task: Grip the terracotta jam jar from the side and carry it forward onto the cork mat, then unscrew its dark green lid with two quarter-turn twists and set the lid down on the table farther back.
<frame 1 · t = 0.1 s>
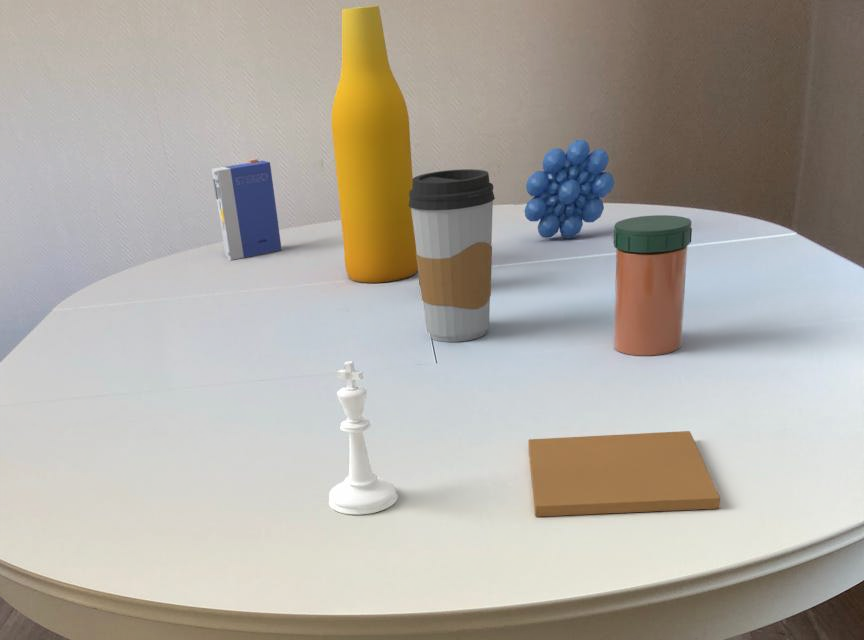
beverage can: (444, 291, 124), on the table
walkman: (253, 255, 151), on the table
mat: (616, 476, 75), on the table
chess piece: (363, 502, 76), on the table
beer bottle: (383, 276, 133), on the table
lid: (652, 227, 94), point 11 cm above the table, screwed on, not yet turned
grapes: (567, 238, 142), on the table
coffee cup: (458, 335, 109), on the table
jar: (647, 345, 100), on the table
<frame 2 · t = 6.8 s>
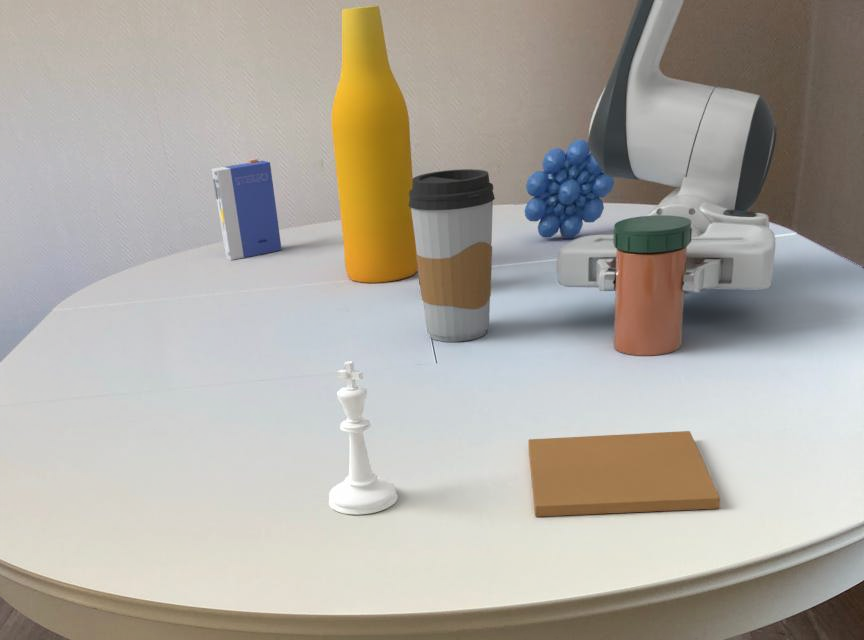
hand: (648, 282, 96), 6 cm above the table, tool horizontal, fingers closed on jar, 6 cm apart
jar: (647, 345, 100), on the table, touching gripper
everything else where it was.
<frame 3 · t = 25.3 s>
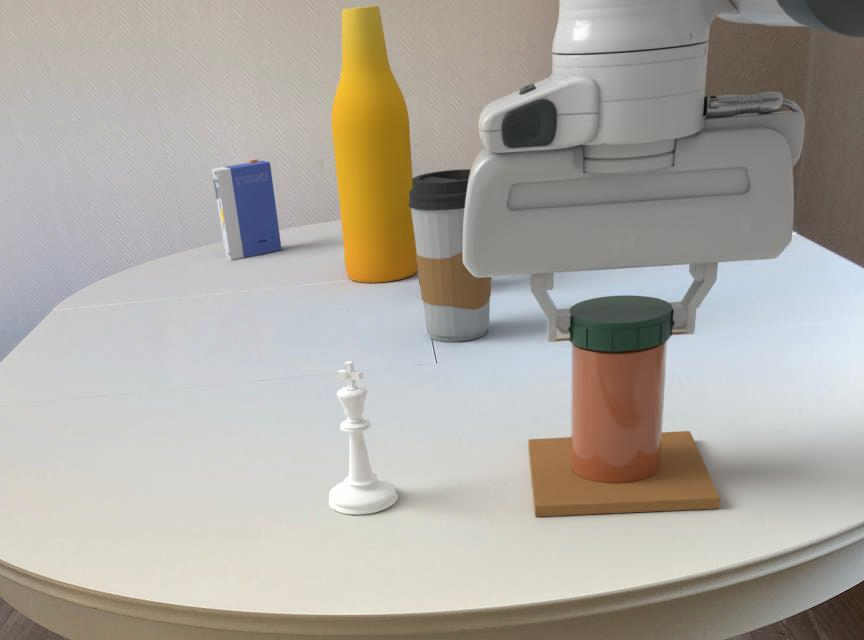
hand: (618, 336, 70), 10 cm above the table, tool pointing down, fingers closed on lid, 6 cm apart
lid: (619, 314, 69), point 11 cm above the table, screwed on, not yet turned, touching gripper
jar: (615, 465, 75), point 1 cm above the table, touching mat
everything else where it was.
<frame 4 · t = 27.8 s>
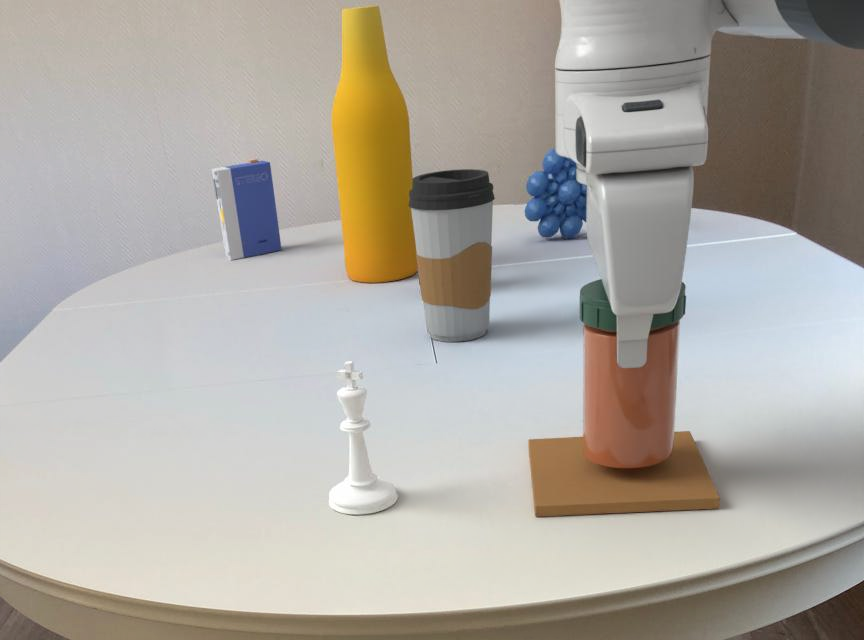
hand: (624, 346, 70), 9 cm above the table, tool pointing down, fingers closed on jar, 6 cm apart
lid: (632, 294, 68), point 13 cm above the table, turned 88° so far, risen 0.2 cm, still on its thread
jar: (627, 450, 74), point 2 cm above the table, touching gripper
everything else where it was.
when the fingers open (8 cm above the table, at t = 29.0 s): jar stays where it is, resting on mat.
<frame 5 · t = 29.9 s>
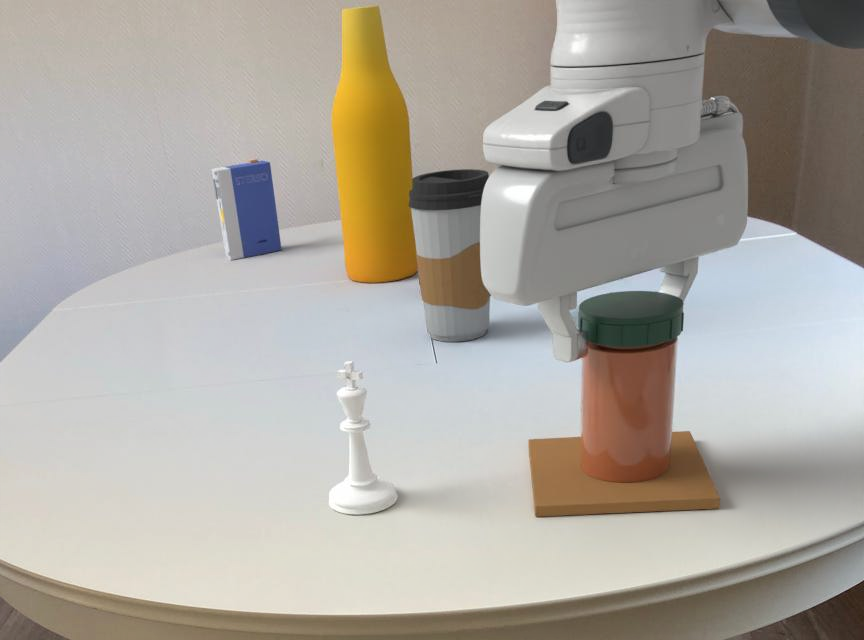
hand: (618, 343, 71), 9 cm above the table, tool pointing down, fingers open, 7 cm apart
lid: (630, 310, 69), point 12 cm above the table, turned 88° so far, risen 0.2 cm, still on its thread, touching gripper
jar: (624, 465, 75), point 1 cm above the table, touching mat
everything else where it was.
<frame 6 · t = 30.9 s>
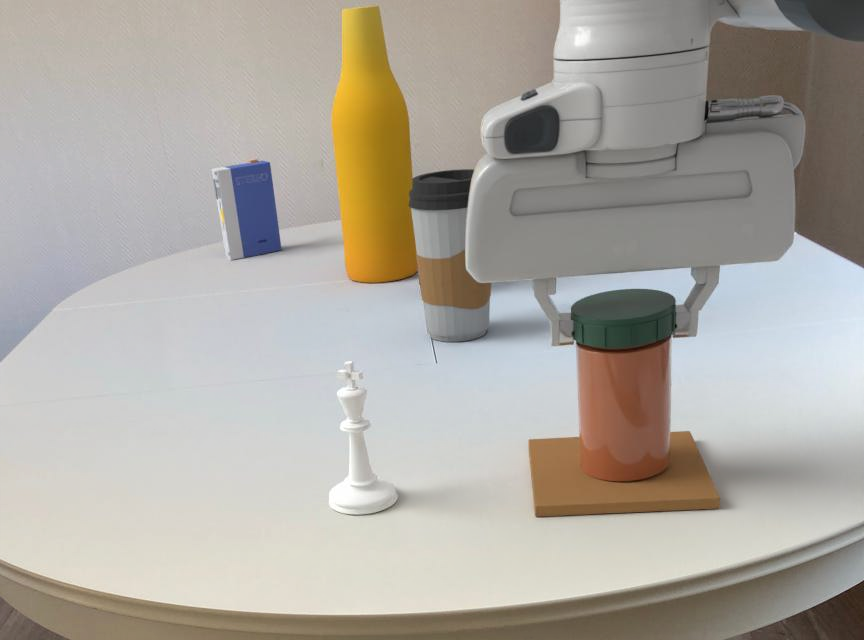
hand: (621, 339, 70), 10 cm above the table, tool pointing down, fingers closed on lid, 6 cm apart
lid: (622, 309, 69), point 12 cm above the table, turned 79° so far, risen 0.2 cm, still on its thread, touching gripper
everything else where it was.
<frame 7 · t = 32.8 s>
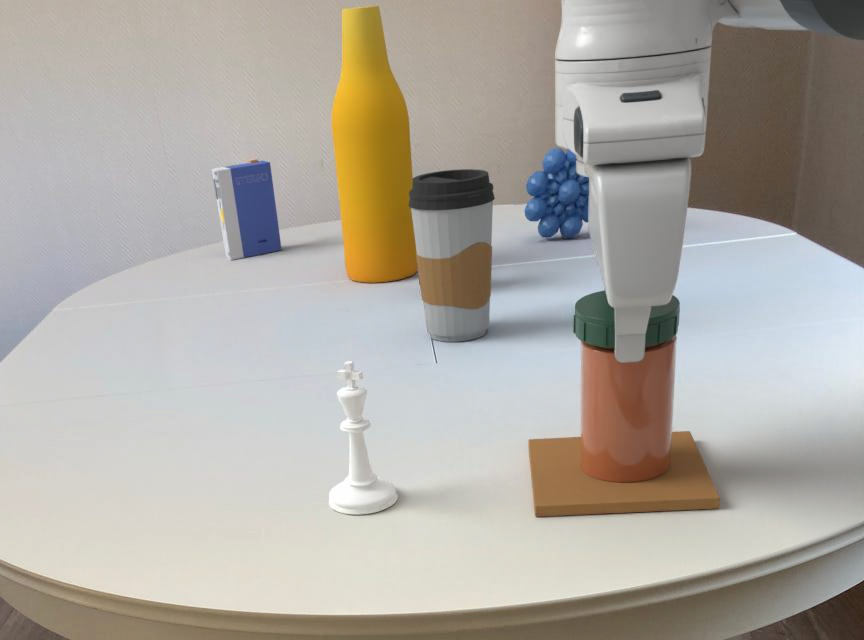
hand: (623, 340, 70), 10 cm above the table, tool pointing down, fingers closed on lid, 6 cm apart
lid: (626, 309, 69), point 12 cm above the table, off its thread, touching gripper
everything else where it was.
when the fingers open (0 cm above the table, at t = 42.8 s): lid stays where it is, point 1 cm above the table.
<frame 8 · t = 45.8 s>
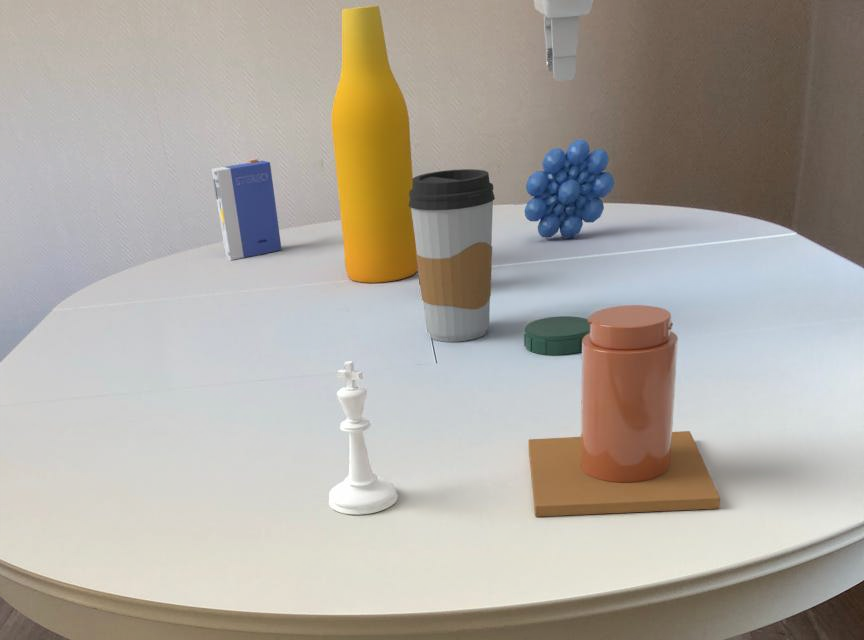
hand: (560, 75, 90), 23 cm above the table, tool pointing down, fingers open, 8 cm apart
lid: (559, 330, 102), point 1 cm above the table, off its thread
everything else where it was.
at the end: jar inside the target area on the mat (0.6 cm from its centre), point 0.8 cm above the mat's base; lid came off its thread; lid inside the target area (0.0 cm from its centre), point 1.4 cm above the table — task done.
